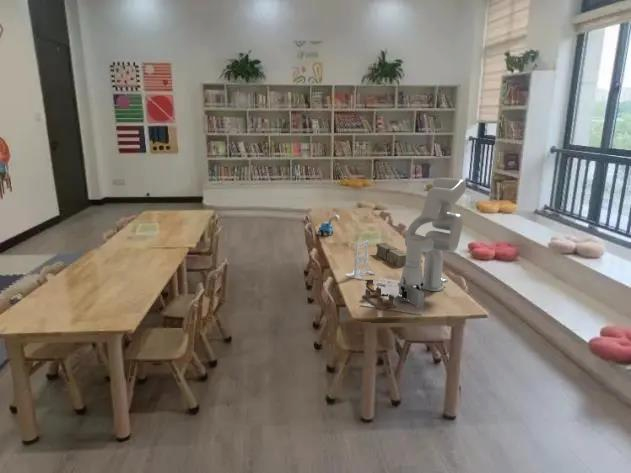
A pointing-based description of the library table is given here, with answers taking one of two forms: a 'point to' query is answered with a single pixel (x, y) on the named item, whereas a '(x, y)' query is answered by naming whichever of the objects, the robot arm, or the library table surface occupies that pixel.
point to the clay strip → (414, 295)
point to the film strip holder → (356, 272)
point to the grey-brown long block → (391, 254)
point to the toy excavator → (327, 227)
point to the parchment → (370, 285)
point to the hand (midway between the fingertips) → (410, 296)
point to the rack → (379, 299)
